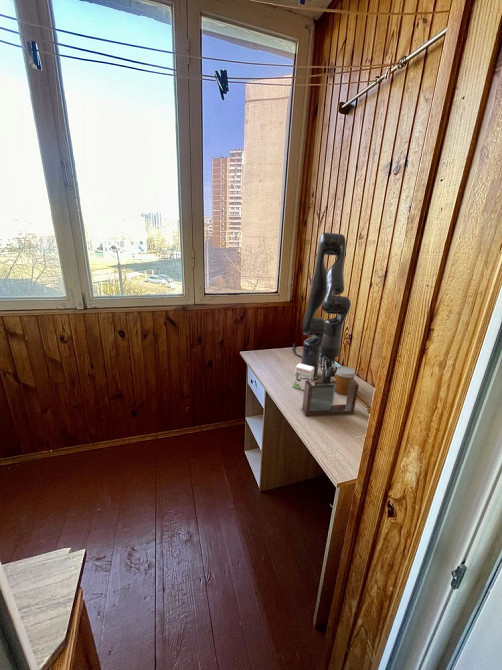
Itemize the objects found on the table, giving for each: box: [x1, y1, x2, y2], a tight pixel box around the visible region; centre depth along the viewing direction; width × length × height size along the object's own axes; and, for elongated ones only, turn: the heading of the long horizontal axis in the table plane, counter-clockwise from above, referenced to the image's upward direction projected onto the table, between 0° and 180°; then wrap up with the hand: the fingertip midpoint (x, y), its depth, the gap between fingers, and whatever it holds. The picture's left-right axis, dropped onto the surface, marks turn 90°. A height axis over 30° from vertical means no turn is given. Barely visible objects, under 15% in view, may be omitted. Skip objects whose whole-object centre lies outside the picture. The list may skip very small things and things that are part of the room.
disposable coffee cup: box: [335, 365, 356, 395], centre depth 145 cm, size 10×10×12 cm
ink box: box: [293, 362, 315, 391], centre depth 147 cm, size 9×5×12 cm, turn 61°
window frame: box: [301, 378, 360, 417], centre depth 127 cm, size 5×22×14 cm, turn 98°
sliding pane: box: [313, 371, 336, 407], centre depth 127 cm, size 1×9×18 cm, turn 98°
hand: (325, 381), depth 126 cm, fingers open, 3 cm apart
